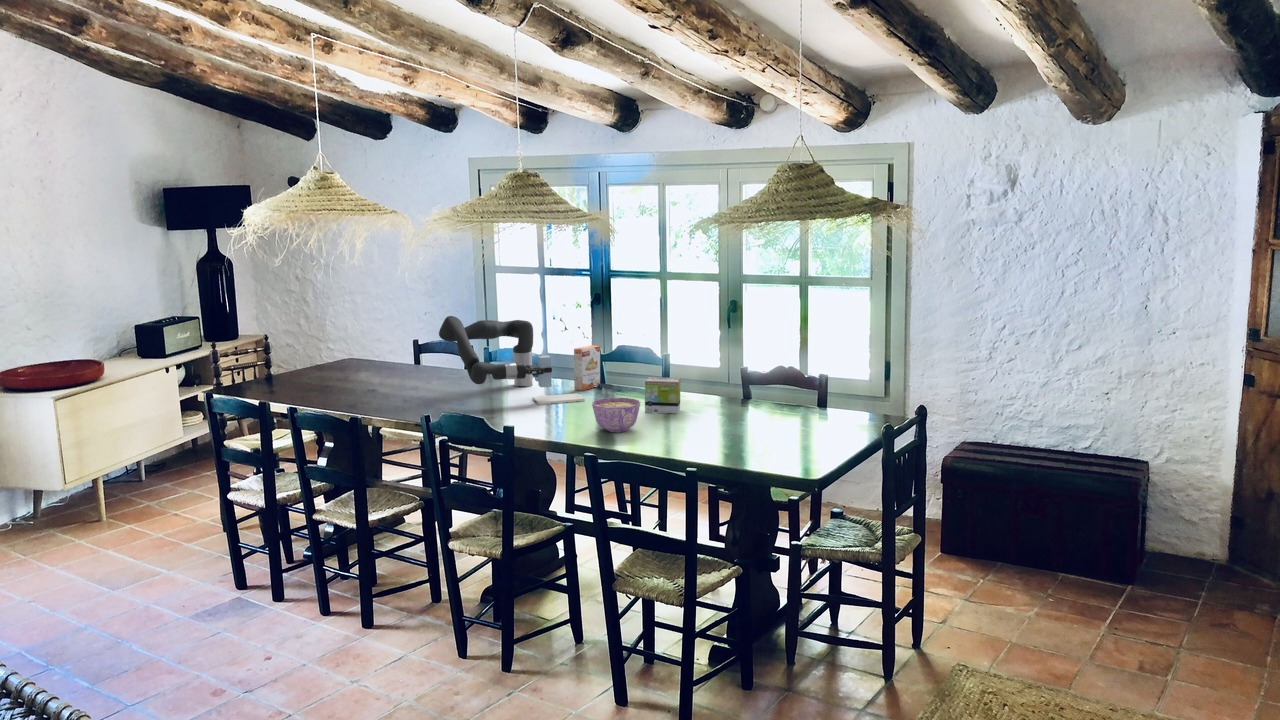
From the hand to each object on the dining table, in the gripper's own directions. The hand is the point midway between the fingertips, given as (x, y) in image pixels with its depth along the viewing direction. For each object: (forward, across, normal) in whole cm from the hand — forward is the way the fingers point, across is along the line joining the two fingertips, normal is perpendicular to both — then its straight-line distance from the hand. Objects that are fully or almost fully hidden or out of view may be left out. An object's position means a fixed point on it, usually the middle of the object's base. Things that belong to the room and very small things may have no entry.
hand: (550, 368), depth 462 cm
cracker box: (+25, -22, -15) cm, 37 cm away
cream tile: (+4, 0, -15) cm, 16 cm away
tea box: (+41, +41, -15) cm, 60 cm away
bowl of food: (+11, +66, -16) cm, 69 cm away
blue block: (-3, 0, -8) cm, 8 cm away
